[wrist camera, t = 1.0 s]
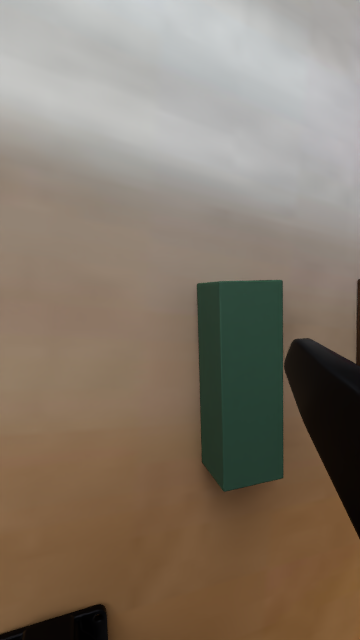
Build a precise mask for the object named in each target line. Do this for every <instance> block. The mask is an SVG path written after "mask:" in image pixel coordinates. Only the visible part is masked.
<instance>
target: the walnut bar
mask: <svg viewBox="0 0 360 640" xmlns="http://www.w3.org/2000/svg"><path fill="white" fill-rule="evenodd" d="M357 365H359V366H360V279H359V280H358V311H357Z"/></svg>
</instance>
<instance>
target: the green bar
mask: <svg viewBox="0 0 360 640" xmlns="http://www.w3.org/2000/svg"><path fill="white" fill-rule="evenodd" d="M197 297H198V333H199V370H200V406H201V442H202V463H203V464H204V466H205V467H206V468H207V470H208V471H209V472H210V474H211V475H212V476H213V478H214V479H215V480H216V482H217V483H218V485H219V486H220V487H221V489H222V490H223V491H224V492H226V491H230V490H234V489H239V488H243V487H247V486H252V485H256V484H260V483H264V482H269V481H273V480H277V479H282V478H283V281H282V280H259V281H219V282H208V283H198V284H197Z"/></svg>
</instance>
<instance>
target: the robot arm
mask: <svg viewBox="0 0 360 640" xmlns="http://www.w3.org/2000/svg"><path fill="white" fill-rule="evenodd" d="M284 369H285V373H286V375H287V378H288V381H289V384H290V387H291V389H292V392H293V395H294V398H295V401H296V403H297V406H298V409H299V412H300V414H301V417H302V419H303V422H304V424H305V426H306V428H307V431H308V433H309V435H310V437H311V439H312V441H313V443H314V445H315V447H316V449H317V451H318V453H319V456H320V458H321V460H322V462H323V464H324V466H325V468H326V470H327V472H328V474H329V476H330V478H331V480H332V483H333V485H334V487H335V489H336V491H337V493H338V495H339V497H340V499H341V501H342V503H343V505H344V507H345V510H346V512H347V514H348V516H349V518H350V520H351V522H352V524H353V526H354V528H355V530H356V532H357V534H358V537H359V539H360V366H359V365H357V364H355V363H353V362H351V361H350V360H348V359H346V358H344V357H342V356H341V355H339V354H337V353H335V352H333V351H332V350H330V349H328V348H326V347H324V346H323V345H321V344H319V343H317V342H315V341H313V340H312V339H309V338H303V339H295V340H293V342H292V343H291V346H290V349H289V351H288V354H287V357H286V359H285V363H284ZM98 614H100V615H99V616H96V615H98ZM0 640H108V632H107V615H106V608H105V606H104V605H101V604H99V605H95V606H92V607H88V608H85V609H82V610H79V611H75V612H72V613H69V614H65V615H62V616H59V617H56V618H52V619H49V620H46V621H43V622H39V623H36V624H33V625H30V626H26V627H23V628H20V629H17V630H13V631H10V632H7V633H3V634H0Z"/></svg>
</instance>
